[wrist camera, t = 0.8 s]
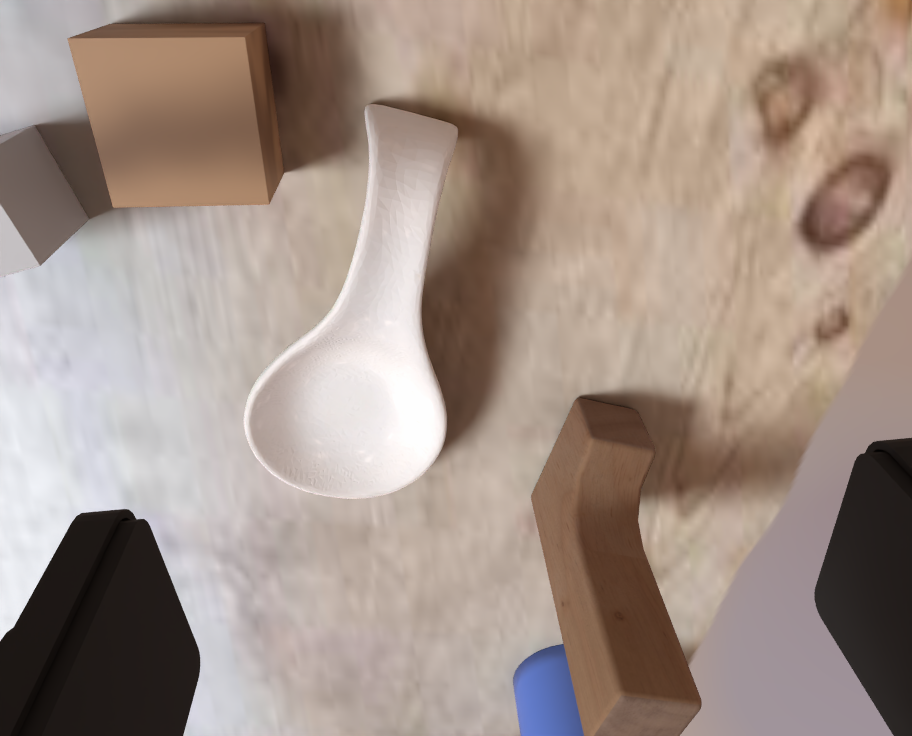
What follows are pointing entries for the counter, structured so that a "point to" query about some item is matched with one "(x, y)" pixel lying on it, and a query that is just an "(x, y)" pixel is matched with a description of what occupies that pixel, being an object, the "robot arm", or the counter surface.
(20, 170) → the grey block
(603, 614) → the wooden block
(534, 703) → the water bottle
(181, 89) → the walnut block
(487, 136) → the counter surface
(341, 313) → the spoon rest
